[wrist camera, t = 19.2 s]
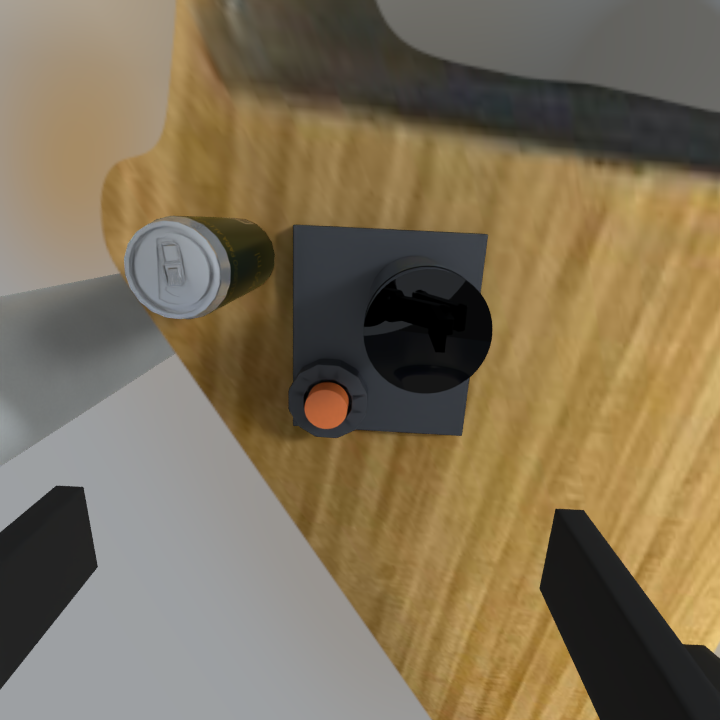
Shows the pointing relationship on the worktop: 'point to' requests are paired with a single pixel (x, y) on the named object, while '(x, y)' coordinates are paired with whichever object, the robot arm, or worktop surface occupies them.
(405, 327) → the supplement container
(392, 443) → the worktop surface
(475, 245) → the kitchen scale
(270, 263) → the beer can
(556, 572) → the robot arm
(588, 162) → the worktop surface
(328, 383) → the button
